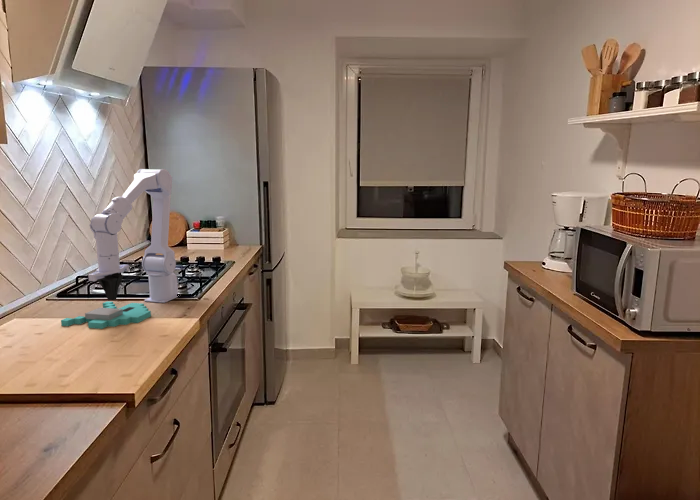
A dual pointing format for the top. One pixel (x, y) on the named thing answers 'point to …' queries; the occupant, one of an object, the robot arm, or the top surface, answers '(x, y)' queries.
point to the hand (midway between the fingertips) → (111, 299)
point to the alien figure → (130, 315)
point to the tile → (103, 313)
